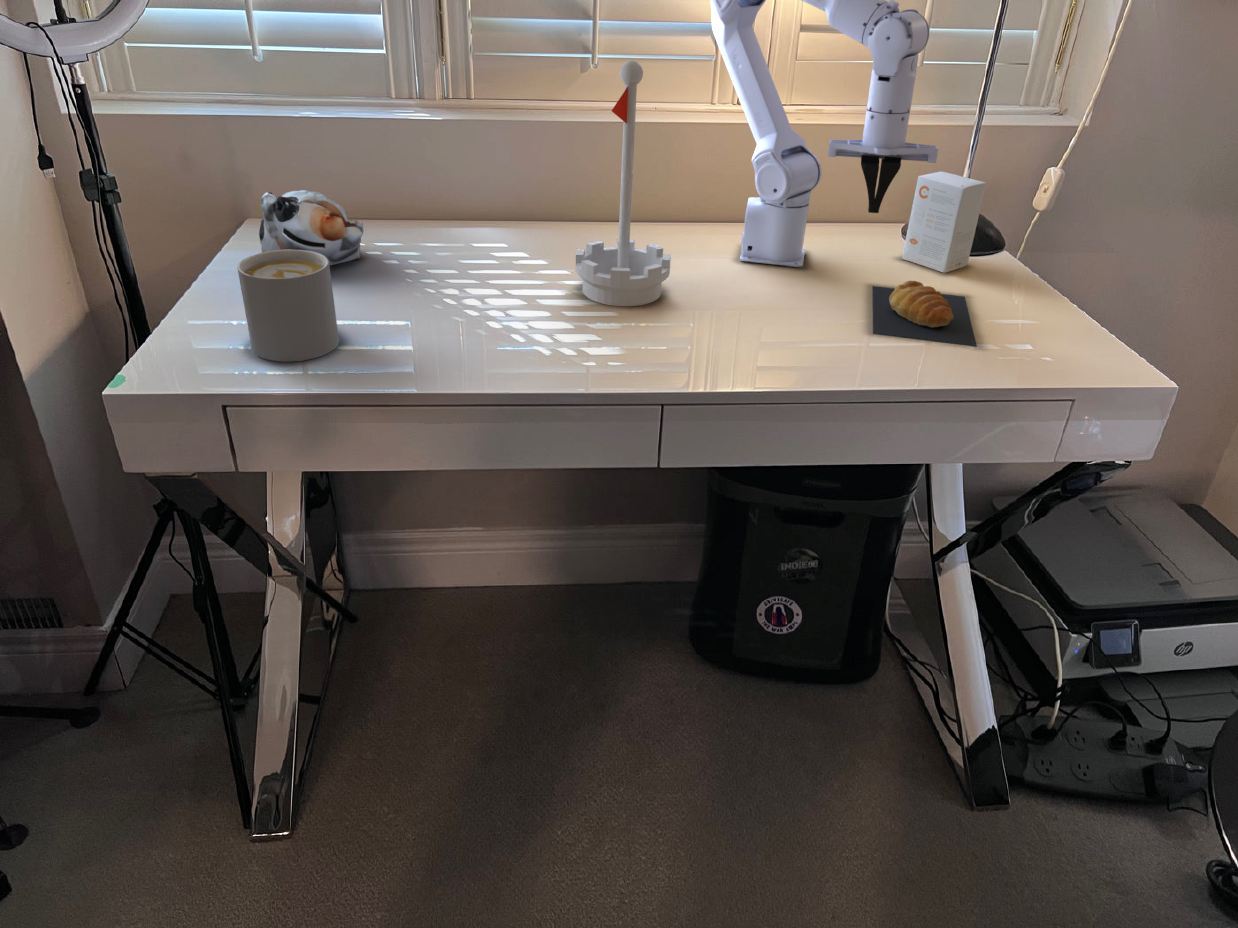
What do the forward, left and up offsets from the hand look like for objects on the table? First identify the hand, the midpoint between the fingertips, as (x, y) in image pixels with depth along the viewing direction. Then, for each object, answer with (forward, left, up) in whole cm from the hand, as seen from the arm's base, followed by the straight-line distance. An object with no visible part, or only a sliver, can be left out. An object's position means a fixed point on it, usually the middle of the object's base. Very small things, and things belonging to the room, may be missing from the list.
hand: (873, 211), depth 133 cm
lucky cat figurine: (-77, -20, -11) cm, 80 cm away
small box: (+11, +12, -11) cm, 20 cm away
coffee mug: (-67, -44, -11) cm, 80 cm away
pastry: (+8, -11, -11) cm, 17 cm away
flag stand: (-33, -16, -11) cm, 38 cm away
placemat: (+8, -11, -10) cm, 17 cm away
